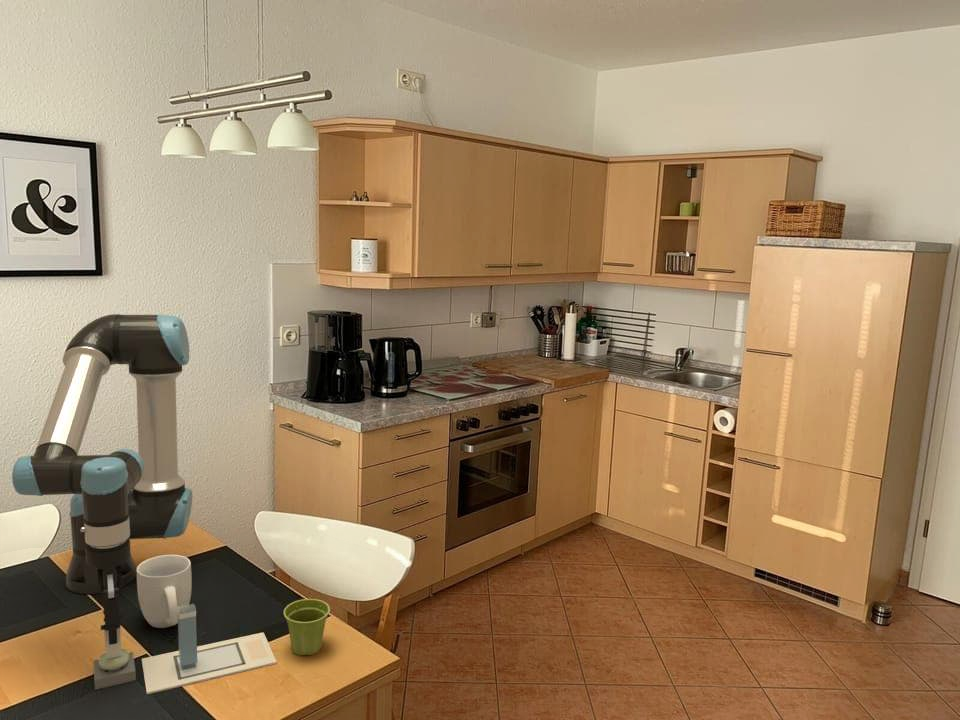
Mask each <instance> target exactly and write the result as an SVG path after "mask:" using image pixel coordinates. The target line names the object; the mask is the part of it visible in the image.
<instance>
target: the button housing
mask: <svg viewBox="0 0 960 720" xmlns="http://www.w3.org/2000/svg"><path fill="white" fill-rule="evenodd" d="M128 653H129V661H128V663H127V664H126V665H124V666H123V667H121V669H117V670H112V671H108V670H104V669H101V668H100V667H99V658H97V659H93V682H94V690H95V691H96V690H99V689H104V688H108V687H112V686H117V685H121V684H126V683H129V682H133V681H134V680H135V681H137V674H136V665H135V658H134V656H135V655H134V651H130V652H128Z"/></svg>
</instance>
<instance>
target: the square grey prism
mask: <svg viewBox="0 0 960 720" xmlns="http://www.w3.org/2000/svg"><path fill="white" fill-rule="evenodd" d="M177 612H178V624H177V632H178V633H177V634H178V636H177V637H178V651H179V659H180V663H181V666H182V669H188V668H192V667H196V663H197V647H198V644H197V642H198V640H197V636H198V635H197V610H196V606H195V604H194V603H192V604H189V605H186V606H181V607H177Z"/></svg>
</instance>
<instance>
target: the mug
mask: <svg viewBox="0 0 960 720" xmlns="http://www.w3.org/2000/svg"><path fill="white" fill-rule="evenodd" d="M192 584H193V583H192V563H191V560H190V559H189V558H188V557H186V556H184V555H180V554H163V555H162V554H161V555H158V556H154V557H151V558H148V559H144V561H141V563H139V564H138V566H136V587H137V588H136V589H137V597H138V598H137V600H138V603H139V607H140V610H141V613H142V615H143V617H144V619H145V620H146V622H147V623H148V624H149V626H151V627H153V628H157V629H165V628H170V627H171V628H172V627H173V626H176V625H178V612H177V607H181V606H186V605H190V601H191V596H192V588H193V587H192Z"/></svg>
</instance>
